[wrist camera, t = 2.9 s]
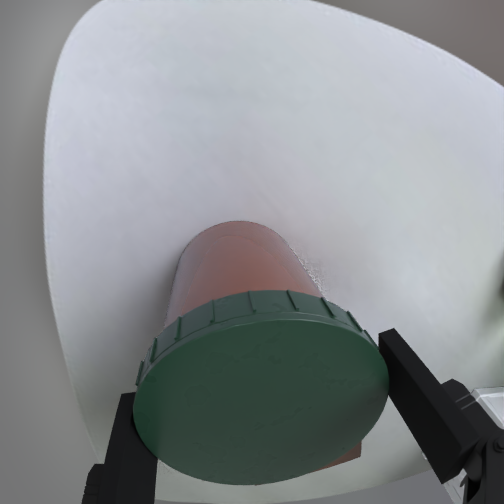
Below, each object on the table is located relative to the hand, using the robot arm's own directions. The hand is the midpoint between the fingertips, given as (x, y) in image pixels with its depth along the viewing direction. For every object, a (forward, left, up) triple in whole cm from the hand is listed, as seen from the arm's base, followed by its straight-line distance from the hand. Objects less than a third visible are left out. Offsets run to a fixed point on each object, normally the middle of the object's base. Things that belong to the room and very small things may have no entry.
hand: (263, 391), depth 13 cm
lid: (0, 0, +2) cm, 2 cm away
